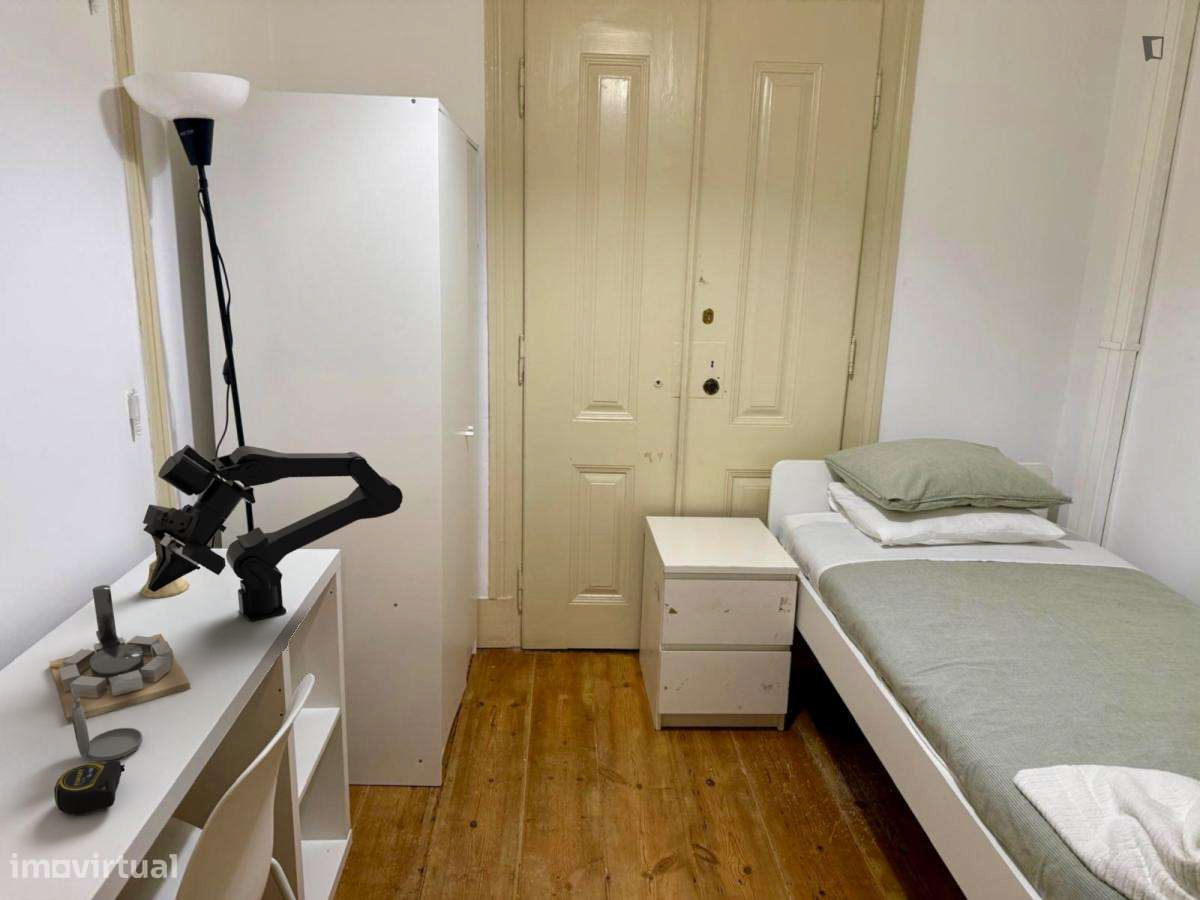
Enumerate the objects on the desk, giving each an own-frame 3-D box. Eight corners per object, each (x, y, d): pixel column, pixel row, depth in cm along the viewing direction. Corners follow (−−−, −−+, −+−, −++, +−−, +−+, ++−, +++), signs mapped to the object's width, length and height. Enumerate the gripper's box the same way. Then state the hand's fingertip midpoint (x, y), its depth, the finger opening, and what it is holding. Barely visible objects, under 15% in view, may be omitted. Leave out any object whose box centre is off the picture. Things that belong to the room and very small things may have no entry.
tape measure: (115, 815, 102) (111, 788, 101) (49, 826, 100) (45, 798, 99) (126, 780, 109) (123, 755, 108) (65, 790, 106) (61, 763, 105)
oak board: (161, 639, 144) (160, 632, 143) (190, 688, 129) (189, 680, 129) (48, 667, 134) (47, 660, 134) (66, 723, 120) (64, 715, 119)
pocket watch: (154, 740, 117) (145, 674, 114) (101, 776, 109) (91, 706, 106) (108, 727, 119) (99, 663, 117) (53, 762, 111) (42, 693, 109)
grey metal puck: (139, 657, 136) (137, 640, 135) (148, 675, 131) (146, 658, 130) (88, 670, 132) (86, 652, 131) (96, 690, 126) (94, 671, 126)
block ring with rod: (156, 632, 143) (149, 570, 140) (182, 677, 130) (174, 609, 127) (53, 658, 134) (43, 592, 131) (69, 708, 121) (58, 637, 118)
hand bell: (175, 599, 159) (166, 518, 154) (131, 597, 159) (121, 516, 154) (197, 581, 167) (189, 503, 162) (155, 579, 167) (145, 502, 162)
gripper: (149, 474, 145) (86, 551, 140) (199, 499, 133) (132, 585, 128) (200, 507, 153) (142, 582, 148) (251, 533, 141) (191, 616, 136)
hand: (150, 590), depth 140 cm, fingers closed
